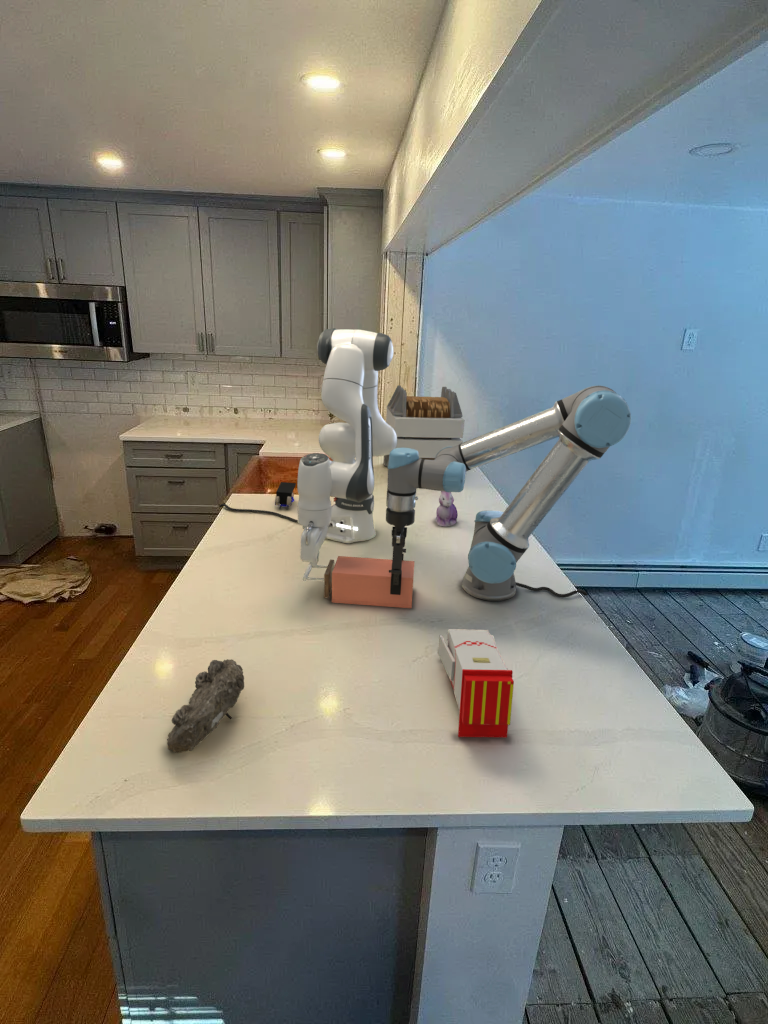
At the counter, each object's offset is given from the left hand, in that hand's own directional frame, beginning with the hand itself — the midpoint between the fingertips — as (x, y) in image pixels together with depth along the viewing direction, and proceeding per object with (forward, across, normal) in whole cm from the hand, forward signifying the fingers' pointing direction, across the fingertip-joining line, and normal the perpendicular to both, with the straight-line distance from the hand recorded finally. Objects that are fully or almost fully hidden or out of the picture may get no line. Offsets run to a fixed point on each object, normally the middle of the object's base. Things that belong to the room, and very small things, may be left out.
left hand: (314, 563), depth 154 cm
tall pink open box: (+9, 0, -16) cm, 18 cm away
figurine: (+8, +61, -38) cm, 73 cm away
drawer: (+8, +1, -11) cm, 13 cm away
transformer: (+7, +128, -28) cm, 131 cm away
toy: (+9, -38, -40) cm, 56 cm away
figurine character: (+7, +69, +24) cm, 74 cm away
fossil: (+10, -52, +10) cm, 54 cm away
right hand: (+4, 0, -23) cm, 23 cm away
